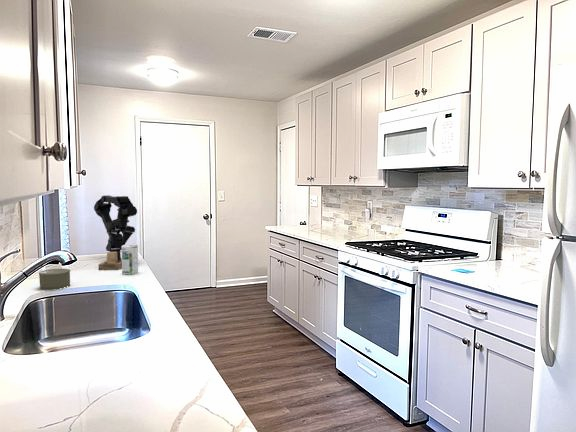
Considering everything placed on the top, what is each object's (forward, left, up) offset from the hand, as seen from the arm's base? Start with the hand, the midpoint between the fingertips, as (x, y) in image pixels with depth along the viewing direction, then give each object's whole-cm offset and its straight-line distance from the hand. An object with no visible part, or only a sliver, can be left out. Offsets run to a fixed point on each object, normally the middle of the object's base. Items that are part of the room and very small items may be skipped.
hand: (118, 245), depth 226 cm
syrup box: (+25, +5, -11) cm, 28 cm away
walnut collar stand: (+7, -3, -11) cm, 14 cm away
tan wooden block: (+7, -3, -11) cm, 14 cm away
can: (+41, -27, -12) cm, 50 cm away
